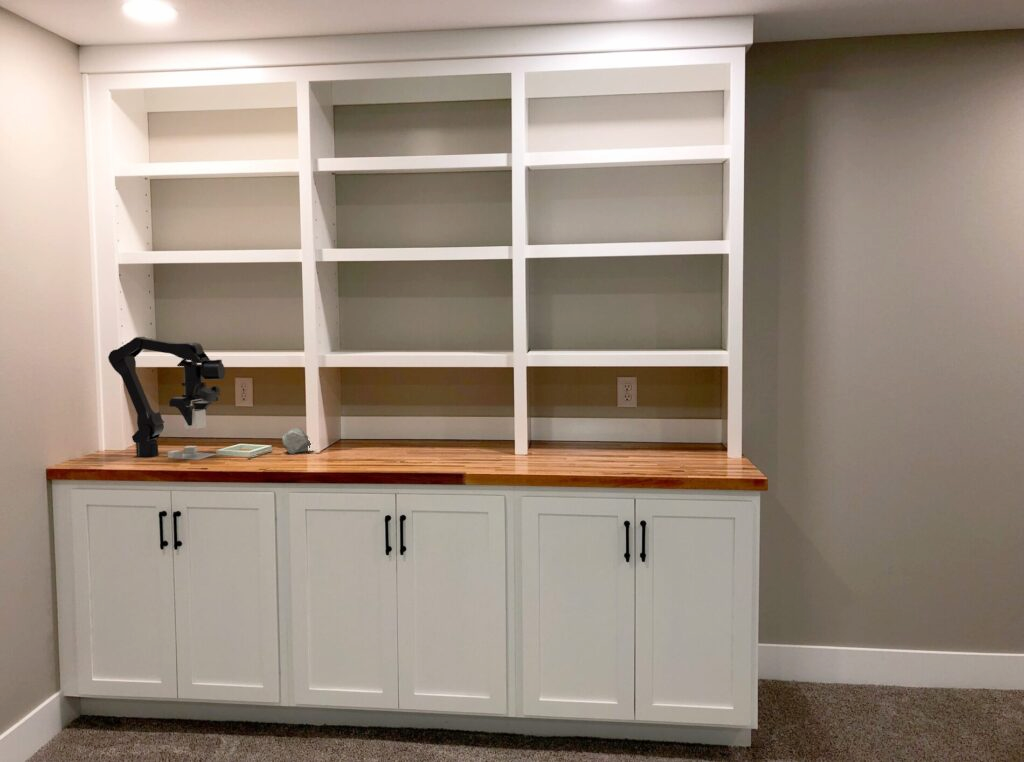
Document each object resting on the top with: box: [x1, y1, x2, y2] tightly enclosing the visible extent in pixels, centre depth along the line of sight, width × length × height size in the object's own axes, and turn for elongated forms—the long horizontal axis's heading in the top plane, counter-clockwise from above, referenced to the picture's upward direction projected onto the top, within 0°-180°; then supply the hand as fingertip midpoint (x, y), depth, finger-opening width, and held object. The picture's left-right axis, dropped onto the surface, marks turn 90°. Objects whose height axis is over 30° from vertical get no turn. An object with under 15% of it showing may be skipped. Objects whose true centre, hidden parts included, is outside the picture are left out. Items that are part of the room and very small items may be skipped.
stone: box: [281, 427, 311, 455], centre depth 302 cm, size 10×10×10 cm
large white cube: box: [183, 408, 207, 430], centre depth 290 cm, size 5×5×6 cm
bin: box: [215, 443, 273, 460], centre depth 298 cm, size 14×14×2 cm
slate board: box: [167, 445, 216, 461], centre depth 292 cm, size 13×12×3 cm
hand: (195, 424), depth 290 cm, fingers closed on large white cube, 5 cm apart
